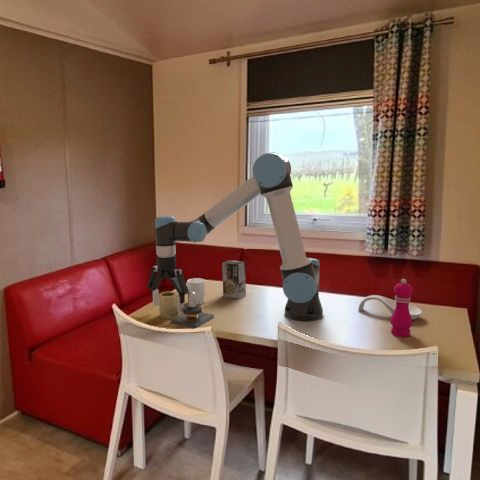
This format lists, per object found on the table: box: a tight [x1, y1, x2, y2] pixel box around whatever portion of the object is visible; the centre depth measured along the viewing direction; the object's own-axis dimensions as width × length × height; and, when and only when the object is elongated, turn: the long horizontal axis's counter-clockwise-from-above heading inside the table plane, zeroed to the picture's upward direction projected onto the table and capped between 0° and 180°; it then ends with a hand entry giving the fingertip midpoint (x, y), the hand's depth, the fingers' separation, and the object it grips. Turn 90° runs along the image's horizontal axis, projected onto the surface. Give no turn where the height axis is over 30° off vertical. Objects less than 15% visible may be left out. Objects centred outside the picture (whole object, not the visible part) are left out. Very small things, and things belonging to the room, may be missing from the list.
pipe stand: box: [170, 291, 215, 329], centre depth 156 cm, size 12×12×11 cm
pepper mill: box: [389, 278, 414, 338], centre depth 140 cm, size 7×7×20 cm
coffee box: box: [221, 259, 247, 300], centre depth 185 cm, size 9×6×16 cm
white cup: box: [186, 277, 206, 305], centre depth 177 cm, size 8×8×10 cm
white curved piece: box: [357, 294, 423, 321], centre depth 159 cm, size 24×12×7 cm, turn 60°
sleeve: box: [158, 291, 179, 320], centre depth 161 cm, size 7×7×9 cm
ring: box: [182, 304, 202, 315], centre depth 156 cm, size 7×7×2 cm
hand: (168, 308), depth 161 cm, fingers open, 12 cm apart
